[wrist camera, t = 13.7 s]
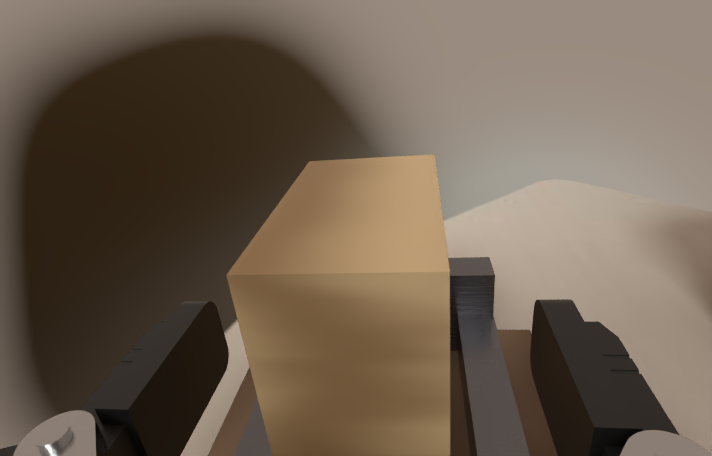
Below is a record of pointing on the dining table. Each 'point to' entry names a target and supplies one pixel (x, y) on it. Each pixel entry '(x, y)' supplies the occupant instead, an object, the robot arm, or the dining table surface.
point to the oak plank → (351, 311)
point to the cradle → (467, 382)
